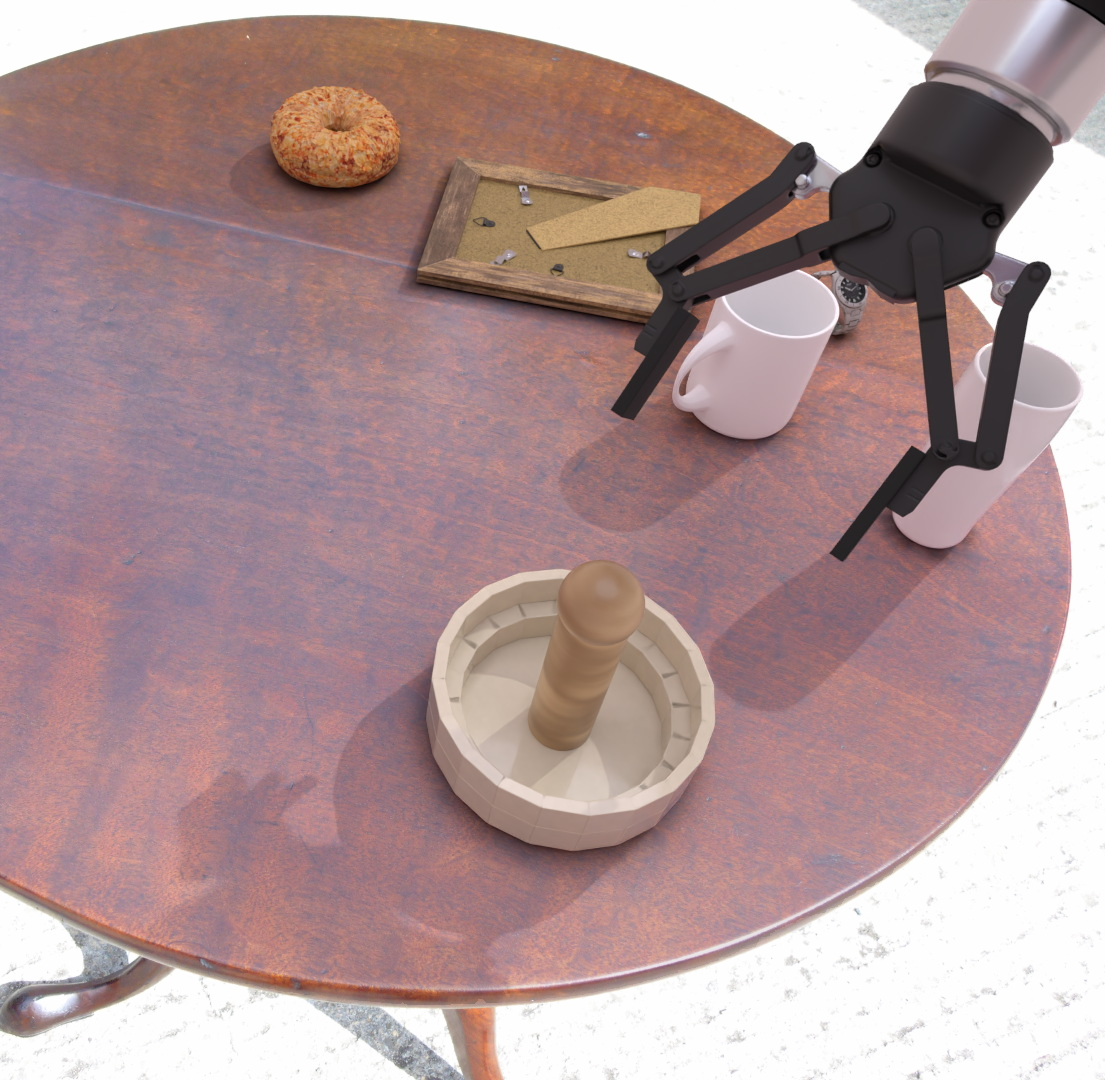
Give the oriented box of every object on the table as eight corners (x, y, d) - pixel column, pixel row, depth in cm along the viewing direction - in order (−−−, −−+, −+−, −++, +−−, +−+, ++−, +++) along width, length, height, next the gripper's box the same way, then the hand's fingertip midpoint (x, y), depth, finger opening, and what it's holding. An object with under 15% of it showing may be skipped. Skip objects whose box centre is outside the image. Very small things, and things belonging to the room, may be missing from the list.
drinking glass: (885, 478, 82) (977, 326, 70) (976, 507, 81) (1086, 356, 69) (873, 541, 78) (970, 391, 66) (969, 572, 77) (1085, 424, 65)
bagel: (253, 184, 103) (250, 136, 99) (292, 112, 111) (290, 66, 107) (383, 206, 101) (385, 159, 98) (413, 132, 110) (416, 86, 106)
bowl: (721, 681, 70) (747, 635, 66) (640, 903, 61) (664, 866, 56) (490, 582, 74) (500, 532, 70) (380, 775, 65) (384, 732, 61)
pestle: (606, 709, 68) (666, 563, 56) (580, 767, 65) (637, 627, 53) (539, 679, 69) (583, 529, 57) (511, 735, 66) (551, 591, 54)
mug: (627, 396, 87) (659, 290, 78) (746, 357, 90) (788, 252, 82) (689, 469, 82) (730, 364, 73) (812, 424, 85) (864, 320, 77)
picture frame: (696, 210, 103) (455, 170, 106) (701, 194, 102) (457, 153, 104) (685, 333, 92) (416, 284, 94) (691, 316, 90) (417, 267, 93)
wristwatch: (830, 345, 92) (852, 298, 88) (788, 301, 95) (807, 254, 91) (863, 336, 92) (887, 290, 89) (820, 293, 96) (841, 246, 92)
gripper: (1230, 257, 50) (938, 615, 56) (772, 39, 59) (561, 369, 65) (1277, 220, 44) (939, 631, 50) (752, -20, 52) (520, 355, 58)
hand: (724, 483), depth 57 cm, fingers open, 13 cm apart
